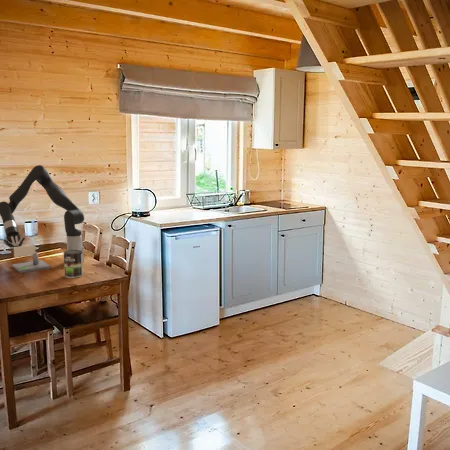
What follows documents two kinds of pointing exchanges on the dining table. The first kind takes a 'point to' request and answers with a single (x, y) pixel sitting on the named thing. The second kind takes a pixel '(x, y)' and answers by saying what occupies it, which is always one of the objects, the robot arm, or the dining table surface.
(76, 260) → the coffee can
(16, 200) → the robot arm
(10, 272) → the dining table surface
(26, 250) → the lever handle
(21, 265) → the board
